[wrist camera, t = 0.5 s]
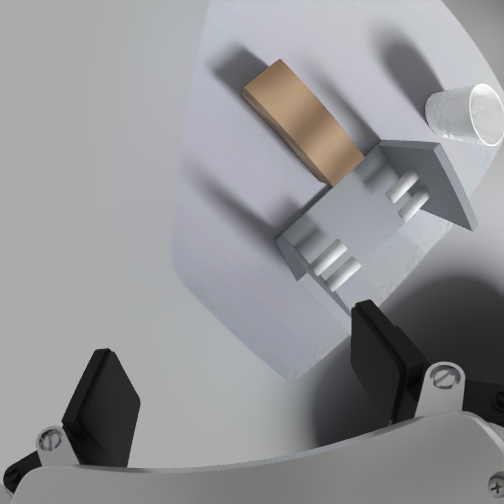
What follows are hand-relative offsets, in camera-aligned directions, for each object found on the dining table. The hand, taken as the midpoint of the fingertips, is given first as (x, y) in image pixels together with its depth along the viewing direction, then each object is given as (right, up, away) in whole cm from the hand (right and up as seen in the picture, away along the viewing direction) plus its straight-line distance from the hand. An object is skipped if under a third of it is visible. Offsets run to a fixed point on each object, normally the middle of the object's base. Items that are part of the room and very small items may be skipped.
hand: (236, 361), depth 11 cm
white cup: (+28, +24, +23) cm, 43 cm away
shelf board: (+6, +19, +22) cm, 30 cm away
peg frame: (+14, +8, +27) cm, 31 cm away
